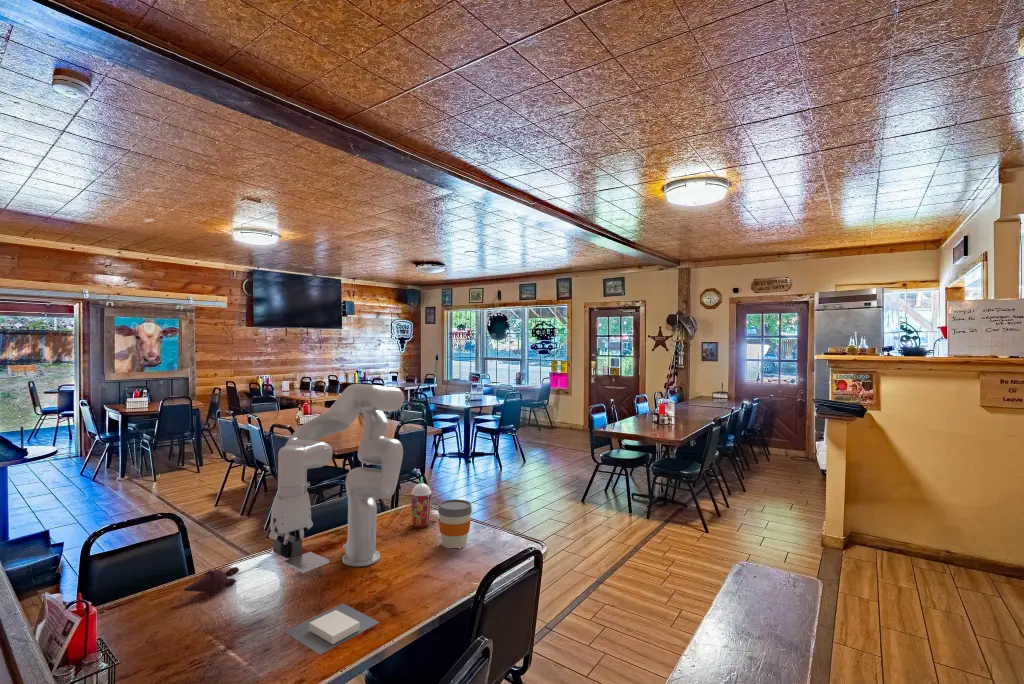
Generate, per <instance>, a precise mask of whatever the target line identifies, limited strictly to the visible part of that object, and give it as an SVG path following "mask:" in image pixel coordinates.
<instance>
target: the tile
mask: <svg viewBox="0 0 1024 684" xmlns="http://www.w3.org/2000/svg"><path fill="white" fill-rule="evenodd" d="M359 630H360V622H358V621H356V620H354V619H352V618H351V617H349V616H347V615H345V614H343V613H341V612H339V611H337V610H335V611H333V612H330V613H328V614H326V615H324V616H322V617H320V618H318V619H316V620H314V621H312V622H310V623H309V631H311V632H313V633H314V634H316V635H318V636H319V637H321V638H323V639H324V640H326V641H328V642H329V643H331V644H335V643H337V642H339V641H341V640H343V639H344V638H346V637H348V636H350V635H352V634H354V633H356V632H357V631H359Z"/></svg>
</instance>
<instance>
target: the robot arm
mask: <svg viewBox="0 0 1024 684" xmlns="http://www.w3.org/2000/svg"><path fill="white" fill-rule="evenodd" d="M404 402H405V395H404V393H403V391H402V390H401V388H399V387H395V386H394V387H393V386H385V385H378V384H365V383H354V384H350V385H348V386H347V387H346V388H344V390H343V391H342V393H341V394H340V395H339V396H338V397H337V398H336V400H335V401H334V402H333V404H332V405H331V406H330V407H329V408H328V409H327V411H325V412H324V413H322V414H319V415H317V416H315V417H313V418H312V419H311V420H308V421H306V422H305V423H303V424H301V425H300V426H299V427H298V428H297V429H296V430H295V431H294V432H293V433H292V435H291V436H290V437H289V438H288V439H287V441H286V443H285V445H284V446H282V447H280V448H279V450H278V457H277V459H278V461H277V463H278V464H277V466H278V467H277V495H276V496H274V498H273V502H272V507H271V514H270V524H269V525H270V532H269V534H268V538H269V539H271V540H273V539H275V540H277V541H279V542H280V543H281V555H282V556H281V555H280V556H281V557H283V558H285V559H287V558H289V557H290V544H289V543H288V537H289V535H290V533H292V532H294V537H297V538H299V539H301V540H302V541H303V539H304V538H305V535H306V533H308V530H310V529H311V528H312V527H313V526H314V523H313V521H312V507H311V500H310V494H309V492H308V488H309V487H310V486H311V482H309V481H307V480H308V477H307V476H308V470H309V469H316V468H321V467H324V466H326V465H327V464H329V462H330V461H331V459H332V457H333V452H334V451H333V449H332V446H331V445H330V444H329V443H328V442H325V441H321V440H319V439H321V438H323V437H327V436H330V435H335V434H337V433H342V432H344V431H346V430H347V429H349V427H350V426H351V425H352V423H354V421H355V419H356V418H357V417H358V415H359V414H360V413H361V412H362V415H363V419H364V424H363V429H362V434H361V437H360V441H359V444H358V445H359V446H358V449H357V459H358V461H360V462H361V463H364V464H367V465H368V464H369V465H377V466H381V469H380V468H374V467H365V466H359V467H355V468H353V469H351V470H350V471H348V473H347V475H346V478H345V489H346V497H347V504H348V507H347V509H348V510H347V540H346V542H345V543H343V544H342V549H344V550H345V553H344V555H343V556H342V559H341V560H342V561H341V562H342V563H343V564H344V565H345V566H349V567H355V568H357V567H366V566H371V565H373V564H375V563H377V562H379V560H380V558H381V553H380V551H378V550H377V517H378V515H377V514H378V508H377V502H376V500H375V499H379V500H383V499H384V500H385V499H390V498H391V497H393V495H394V493H395V491H396V488H397V485H398V480H399V477H400V472H401V467H402V462H403V456H404V448H403V444H402V442H401V441H400V440H398V439H396V438H391V437H390V438H389V437H387V435H388V431H389V421H388V418H387V415H386V413H385V412H397V411H399V410H400V409H401V408H402V407H403V405H404ZM277 533H278V534H279V535H277Z"/></svg>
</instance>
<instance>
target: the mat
mask: <svg viewBox="0 0 1024 684" xmlns="http://www.w3.org/2000/svg"><path fill="white" fill-rule="evenodd" d="M335 610H337V611H339V612H341V613H343V614H345V615H347V616H349V617H351V618H352V619H354V620H356V621H358V622H360V630H359V631H357V632H356V633H354V634H352V635H350V636H348V637H346V638H344V639H343V640H341V641H339V642H337V643H335V644H331V643H329V642H328V641H326V640H324V639H323V638H321V637H319V636H318V635H316V634H314V633H313V632H311V631H309V623H310V622H312V621H314V620H316V619H318V618H320V617H322V616H324V615H326V614H328V613H330V612H333V611H335ZM378 624H380V621H378V620H376V619H374V618H372V617H370V616H369V615H366V614H365V613H362V612H361V611H359V610H356V609H354V608H353V607H351V606H349V605H347V604H345V603H340V604H338V605H336V606H334V607H332V608H329V609H328V610H326V611H323V612H322V613H319V614H317V615H315V616H313V617H311V618H309V619H306V620H304V621H302V622H299V623H298V624H296V625H294V626H291V627H290V628H287V629H285V630H283V631H282V632H283V633H285V634H286V635H288V636H289V637H291V638H293V639H294V640H296V641H297V642H299V643H301V644H302V645H304V646H305V647H307V648H309V649H310V650H312V651H313V652H314V653H317V654H318V655H320V656H321V655H323V654H324V653H326V652H328V651H330V650H332V649H333V648H335V647H337V646H339V645H341V644H343V643H345V642H347V641H348V640H350V639H353V638H354V637H357V636H358V635H359V634H361V633H364V632H365V631H366V630H369V629H370V628H372V627H373V626H376V625H378Z"/></svg>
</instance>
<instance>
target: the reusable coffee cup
mask: <svg viewBox="0 0 1024 684" xmlns="http://www.w3.org/2000/svg"><path fill="white" fill-rule="evenodd" d="M472 512H473V510H472V503H471V502H470V501H468V500H465V499H447V500H443V501H440V503H439V504H438V510H437V513H438V514H439V515H438V516H439V518H438V526H439V533H440V535H441V536H440V537H441V544H442V547H443V546H444V547H443V548H445V547H447V548H446V549H448V548H459V547H463V546H465V545H466V546H467V543H468V541H467V540H468V535H469V533H470V528H471V522H472V519H471V514H472ZM466 546H465V547H466ZM463 548H464V547H463Z"/></svg>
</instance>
